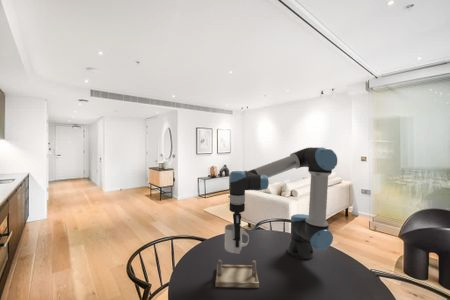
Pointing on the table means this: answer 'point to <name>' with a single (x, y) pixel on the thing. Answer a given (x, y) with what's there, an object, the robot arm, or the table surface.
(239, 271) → the tray
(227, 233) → the mug
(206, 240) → the table surface
